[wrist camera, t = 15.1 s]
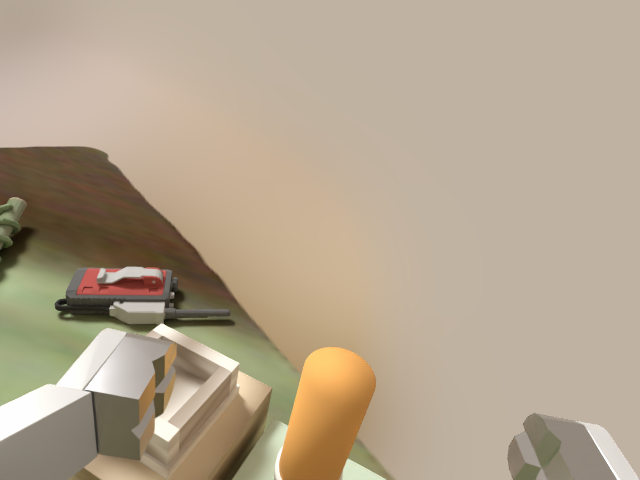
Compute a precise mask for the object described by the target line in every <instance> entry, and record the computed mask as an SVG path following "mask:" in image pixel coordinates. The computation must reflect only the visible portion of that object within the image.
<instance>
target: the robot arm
mask: <svg viewBox="0 0 640 480" xmlns="http://www.w3.org/2000/svg"><path fill="white" fill-rule="evenodd" d="M176 348H177V344H175V343H174V342H170V341H165V340H161V339H157V338H152V337H148V336H143V335H139V334H134V333H128V332H123V331H119V330H114V329H110V328H107V329H105V330H103V331H101V332H100V333H99V334H98V335H97V337H96V338H95V339H94V340H93V341H92V342H91V344H90V345H89V346H88V347H87V348H86V350H85V351H84V352H83V353H82V354H81V355H80V357H79V358H78V359H77V360H76V361H75V363H74V364H73V365H72V366H71V367H70V368H69V370H68V371H67V372H66V373H65V374H64V376H63V377H62V378H61V379H60V380H59V381H58V383H57V384H56V385H52V384H46V385H44V386H42V387H40V388H38V389H36V390H34V391H32V392H30V393H28V394H26V395H24V396H21V397H19V398H17V399H15V400H13V401H11V402H9V403H7V404H5V405H3V406H1V407H0V480H68V479H70V478H71V477H72V476H74V475H75V474H76V473H77V472H79V471H80V470H81V469H82V468H84V467H85V466H86V465H88V464H89V463H90V462H91V461H93V460H94V459H95V458H97V454H100V455H106V456H113V457H119V458H126V459H132V460H138V461H140V460H141V458H142V456H143V454H144V452H145V450H146V448H147V446H148V444H149V442H150V440H151V438H152V436H153V434H154V432H155V418H157V417H159V416H160V415H162V414H163V413H164V411H165V409H166V407H167V405H168V403H169V400H170V397H171V394H172V391H173V388H174V383H175V376H176V370H175V368H174V367H173V366H172V363H173V361H174V359H175V357H176ZM523 425H524V428H525V432H522V433H520V434H518V435H516V436H515V437H514V438H513V440H512V442H511V443H510V445H509V450H508V465H509V470H510V473H511V475H512V478H513V480H639V478H638V477H637V475H636V474H635V472H634V471H633V469H632V468H631V466H630V465H629V463H628V462H627V460H626V459H625V457H624V456H623V454H622V453H621V451H620V450H619V448H618V447H617V445H616V444H615V442H614V441H613V439H612V438H611V436H610V434H609V433H608V432H607V431H606V430H605V429H604V428H603V427H601V426H600V425H595V424H589V423H584V422H579V421H577V422H576V421H573V420H568V419H563V418H557V417H552V416H547V415H541V414H536V413H534V414H532V415H530V416H528V417H527V418H526V420H525V421H524V423H523Z"/></svg>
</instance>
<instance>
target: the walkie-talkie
mask: <svg viewBox="0 0 640 480" xmlns="http://www.w3.org/2000/svg"><path fill="white" fill-rule="evenodd" d="M177 286H178V278H177V277H174V278H173V279H172V271H171V270H161V269H159V268H147V267H146V269H143V267H126V268H124V269H118V268H117V269H115V268H86V267H85V268H80V269H77V270H76V272H75V274H74V276H73V278H72V280H71V282H70V284H69V286H68V288H67V290H66V299H60V300H58V301H57V302H56V303H55V309H56V310H59V311H69V312H71V313H72V314H94V313H97V314H99V313H102V314H104V313H107V314H109V313H110V316H114V317H115V318H117V319H119V320H121V321H123V322H125V323H126V324H156V325H160V324H161V323H162V324H163V323H164V319H175V318H207V317H208V316H230V311H229V310H228V309H175V308H174V303H170V300H171V299H174V293H176V292H177ZM171 291H173V292H171ZM64 304H67V306H63V305H64Z"/></svg>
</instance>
